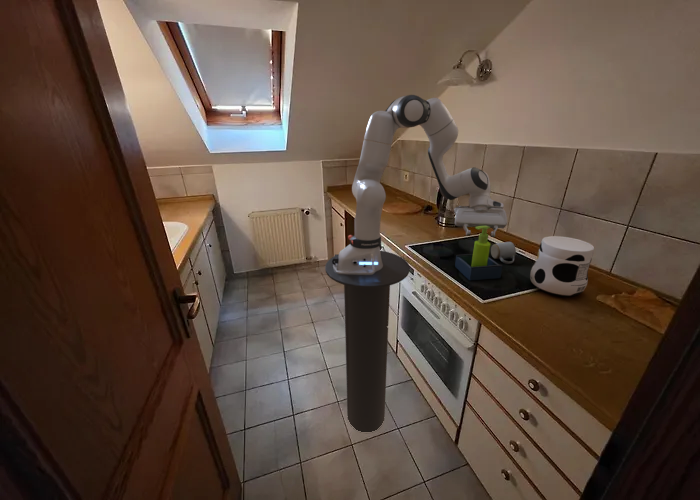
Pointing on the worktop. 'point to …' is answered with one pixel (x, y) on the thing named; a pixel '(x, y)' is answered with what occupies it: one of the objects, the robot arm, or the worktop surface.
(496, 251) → the ceramic mug
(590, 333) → the worktop surface
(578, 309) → the worktop surface
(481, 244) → the soap dispenser
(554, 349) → the worktop surface
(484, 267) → the blue open box
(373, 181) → the robot arm
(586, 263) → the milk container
